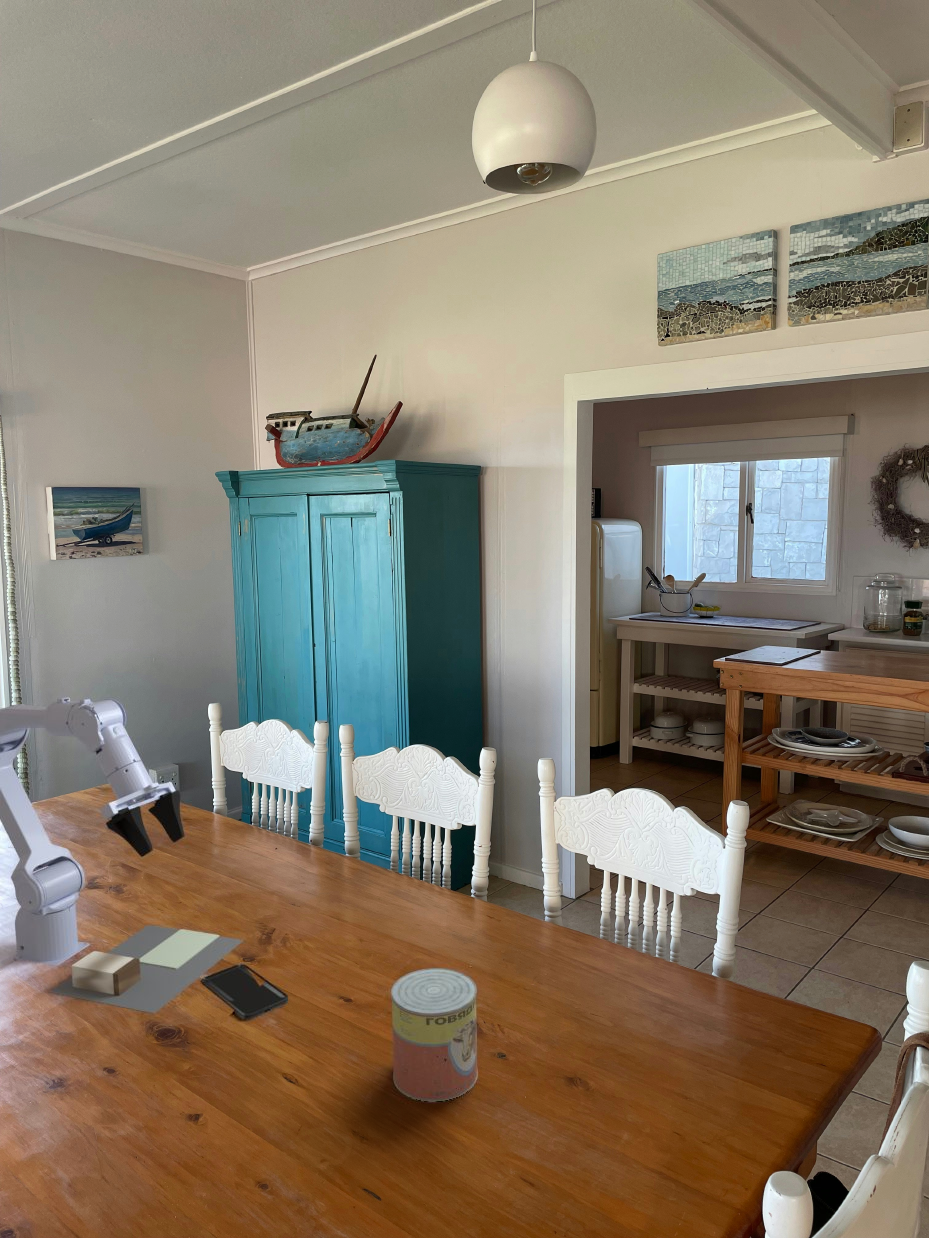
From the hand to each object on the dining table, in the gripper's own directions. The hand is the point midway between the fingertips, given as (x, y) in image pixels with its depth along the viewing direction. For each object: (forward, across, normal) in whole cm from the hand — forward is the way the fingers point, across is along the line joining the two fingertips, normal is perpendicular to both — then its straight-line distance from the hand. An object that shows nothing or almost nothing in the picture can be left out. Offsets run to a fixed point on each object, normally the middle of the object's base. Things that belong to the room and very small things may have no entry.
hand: (163, 846), depth 139 cm
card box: (+14, -2, +21) cm, 25 cm away
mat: (+16, +6, +18) cm, 25 cm away
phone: (+26, +4, +3) cm, 27 cm away
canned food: (+46, -6, -28) cm, 54 cm away
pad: (+15, +11, +17) cm, 26 cm away
